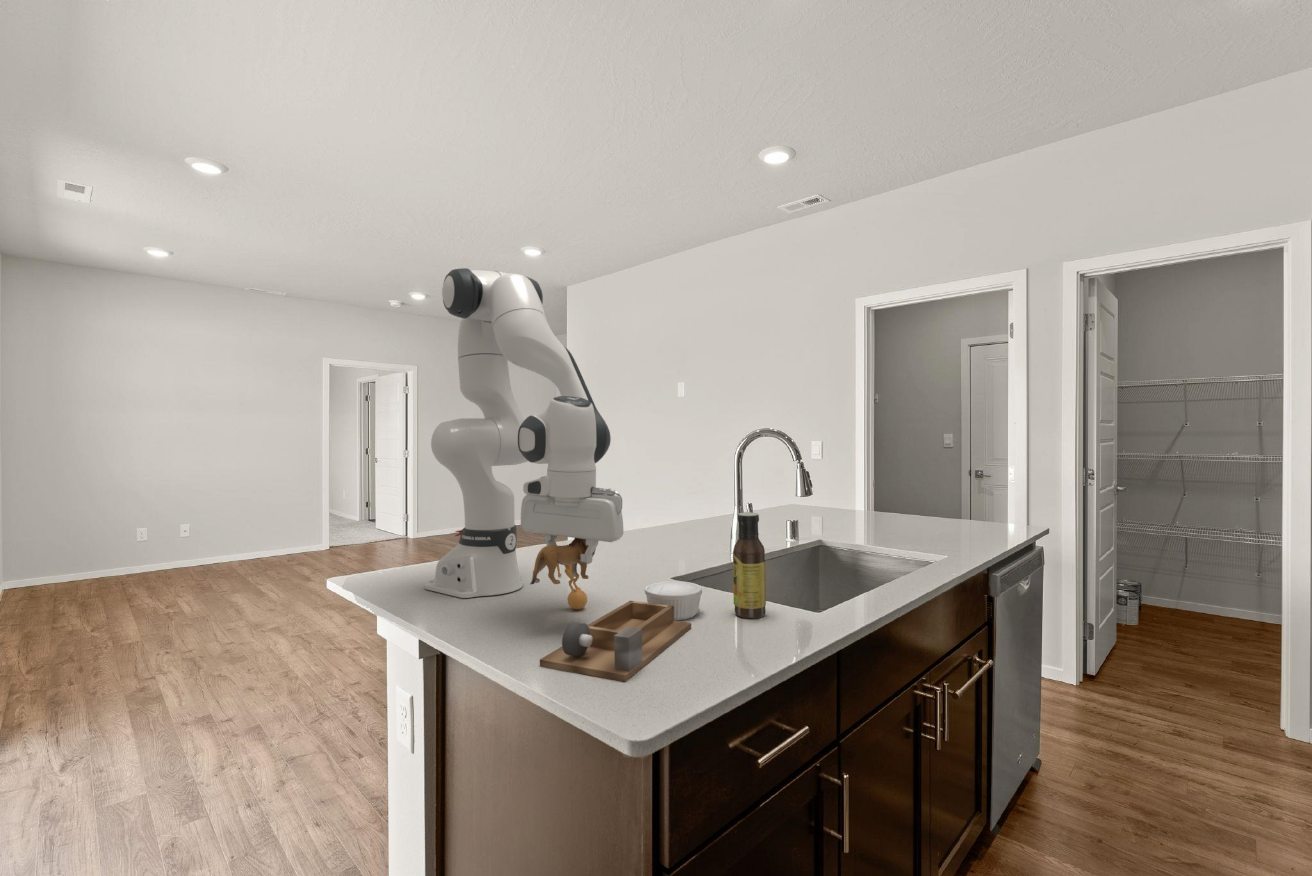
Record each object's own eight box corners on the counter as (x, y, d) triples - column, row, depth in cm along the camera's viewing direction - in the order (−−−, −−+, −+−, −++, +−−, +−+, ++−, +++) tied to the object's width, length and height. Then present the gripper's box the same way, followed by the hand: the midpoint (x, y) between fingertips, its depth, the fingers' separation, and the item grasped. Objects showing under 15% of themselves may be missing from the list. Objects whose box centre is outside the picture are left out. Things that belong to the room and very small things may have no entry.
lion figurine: (586, 570, 120) (586, 524, 120) (604, 575, 117) (604, 527, 117) (522, 585, 110) (521, 534, 110) (539, 590, 106) (539, 537, 106)
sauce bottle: (739, 608, 126) (738, 510, 125) (769, 612, 123) (769, 511, 123) (729, 617, 120) (728, 514, 120) (760, 621, 117) (760, 516, 117)
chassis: (539, 665, 96) (539, 627, 96) (618, 618, 120) (618, 587, 120) (625, 681, 90) (625, 640, 90) (691, 628, 114) (691, 595, 114)
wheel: (562, 659, 96) (561, 627, 96) (579, 648, 100) (579, 617, 100) (581, 662, 94) (580, 629, 94) (597, 651, 99) (597, 620, 99)
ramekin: (637, 609, 126) (637, 583, 126) (687, 603, 130) (687, 578, 130) (657, 625, 116) (657, 597, 116) (711, 618, 120) (711, 591, 120)
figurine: (573, 616, 122) (572, 554, 121) (548, 611, 124) (548, 552, 124) (597, 605, 129) (596, 547, 129) (573, 601, 132) (572, 544, 132)
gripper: (630, 487, 112) (629, 563, 113) (536, 480, 120) (535, 550, 121) (613, 491, 106) (612, 571, 107) (515, 483, 115) (515, 557, 115)
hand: (570, 560), depth 114 cm, fingers closed on lion figurine, 5 cm apart
